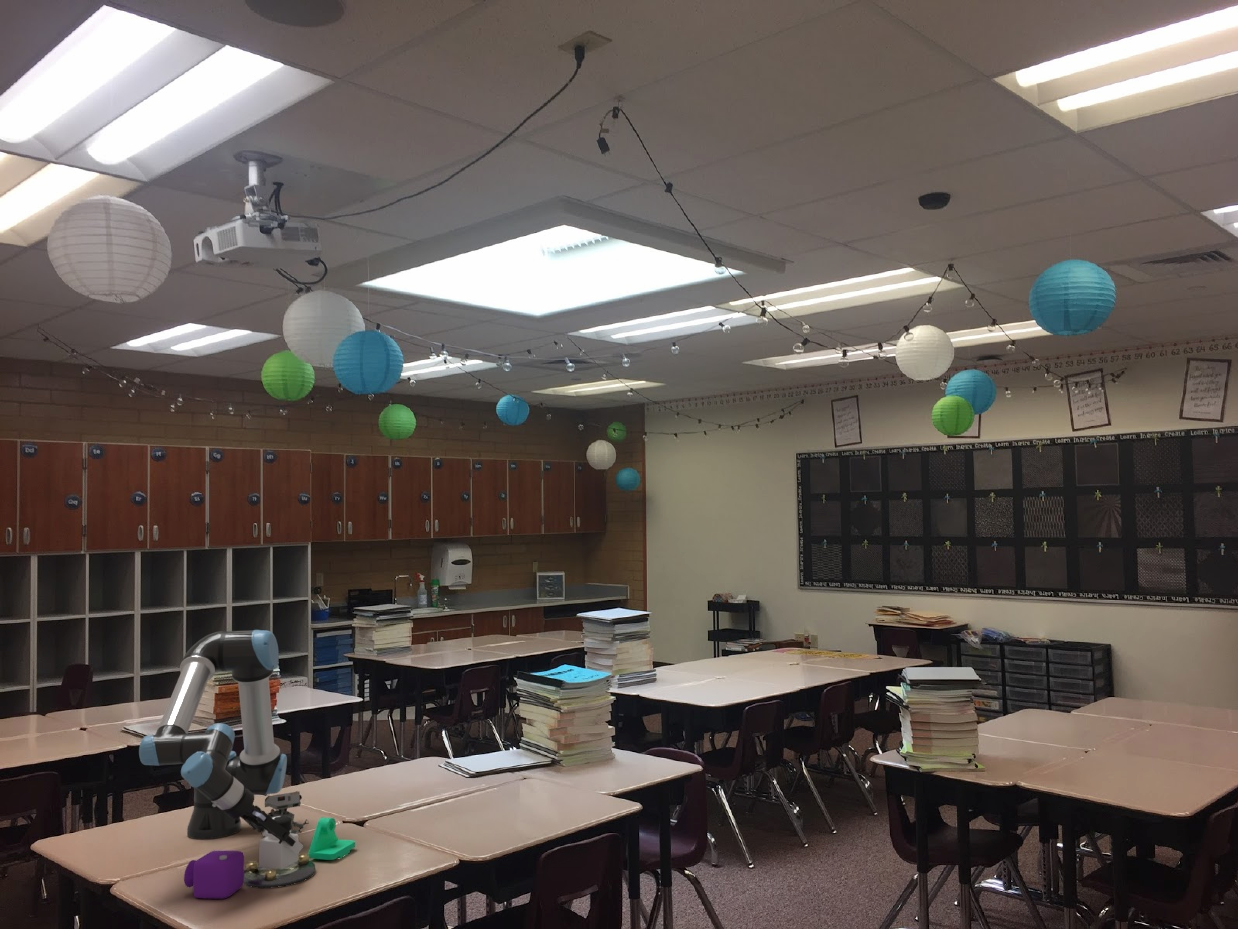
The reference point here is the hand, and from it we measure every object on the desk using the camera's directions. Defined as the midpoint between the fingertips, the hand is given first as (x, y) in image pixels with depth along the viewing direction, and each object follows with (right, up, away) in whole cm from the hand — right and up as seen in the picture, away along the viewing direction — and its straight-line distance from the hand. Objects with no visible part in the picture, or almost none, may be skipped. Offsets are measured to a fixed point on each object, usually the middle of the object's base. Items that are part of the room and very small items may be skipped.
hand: (290, 846), depth 254 cm
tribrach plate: (-2, -7, -3) cm, 7 cm away
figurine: (-9, -9, +22) cm, 25 cm away
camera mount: (+8, -8, +13) cm, 17 cm away
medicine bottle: (-2, -4, -3) cm, 5 cm away
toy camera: (-15, -6, -15) cm, 22 cm away
